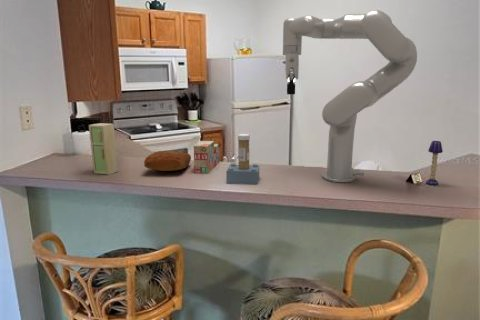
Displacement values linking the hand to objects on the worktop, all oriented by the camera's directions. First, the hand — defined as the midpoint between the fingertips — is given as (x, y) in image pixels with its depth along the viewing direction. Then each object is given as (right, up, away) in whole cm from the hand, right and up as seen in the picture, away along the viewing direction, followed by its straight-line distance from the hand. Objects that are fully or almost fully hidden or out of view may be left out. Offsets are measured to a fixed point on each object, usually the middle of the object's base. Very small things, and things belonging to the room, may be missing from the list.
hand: (290, 93), depth 146 cm
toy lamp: (+52, -37, -13) cm, 65 cm away
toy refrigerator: (-80, -33, +6) cm, 87 cm away
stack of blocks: (-36, -31, +14) cm, 50 cm away
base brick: (-20, -36, -7) cm, 41 cm away
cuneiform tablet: (-53, -33, +9) cm, 63 cm away
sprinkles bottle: (-20, -31, -8) cm, 38 cm away
